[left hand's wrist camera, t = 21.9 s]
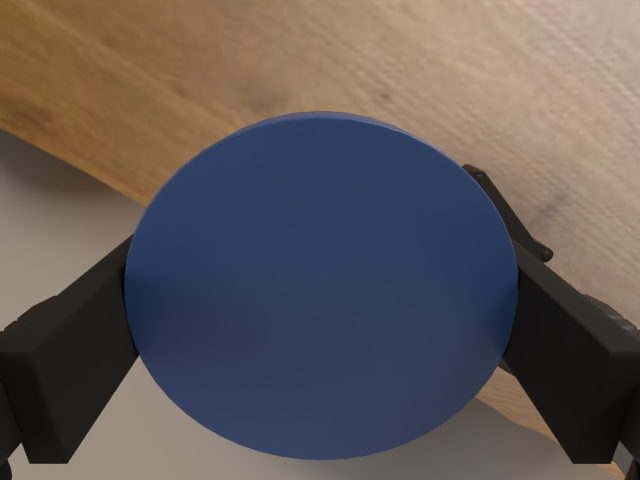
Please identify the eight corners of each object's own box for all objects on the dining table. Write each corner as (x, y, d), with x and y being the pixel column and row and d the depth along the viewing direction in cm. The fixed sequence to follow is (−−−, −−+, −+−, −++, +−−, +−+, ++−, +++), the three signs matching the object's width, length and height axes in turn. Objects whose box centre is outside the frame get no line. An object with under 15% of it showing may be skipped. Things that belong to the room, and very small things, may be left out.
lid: (536, 134, 10) (578, 145, 9) (446, 426, 14) (464, 472, 12) (143, 88, 10) (106, 89, 8) (158, 400, 14) (135, 446, 12)
